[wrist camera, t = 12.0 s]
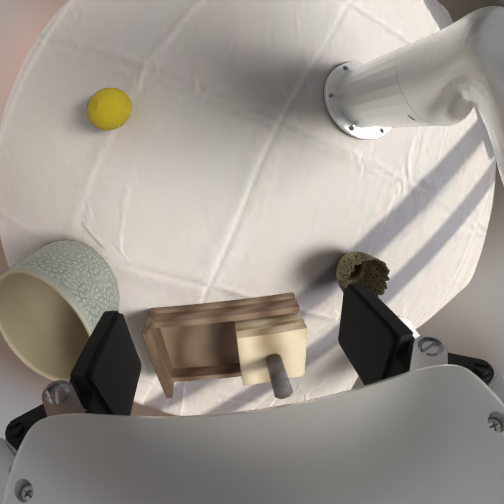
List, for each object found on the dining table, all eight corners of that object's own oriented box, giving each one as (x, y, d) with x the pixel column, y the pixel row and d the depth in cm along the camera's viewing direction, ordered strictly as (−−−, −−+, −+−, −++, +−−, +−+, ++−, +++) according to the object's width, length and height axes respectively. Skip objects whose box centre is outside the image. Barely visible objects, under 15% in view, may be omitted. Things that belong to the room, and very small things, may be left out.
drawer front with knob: (296, 306, 43) (324, 359, 31) (295, 353, 46) (317, 406, 34) (233, 315, 42) (241, 373, 30) (239, 361, 45) (248, 419, 33)
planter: (30, 247, 35) (-24, 286, 20) (103, 214, 35) (49, 250, 21) (71, 330, 41) (37, 386, 26) (145, 312, 41) (122, 379, 27)
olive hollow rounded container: (372, 252, 43) (398, 271, 36) (349, 289, 45) (371, 313, 37) (340, 233, 41) (365, 250, 33) (316, 273, 43) (336, 297, 35)
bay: (293, 292, 43) (306, 316, 37) (292, 356, 48) (302, 382, 42) (150, 308, 41) (141, 334, 35) (170, 370, 46) (166, 397, 39)
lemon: (142, 96, 30) (124, 82, 23) (132, 134, 32) (111, 129, 24) (107, 93, 29) (84, 81, 22) (98, 130, 31) (72, 126, 23)
